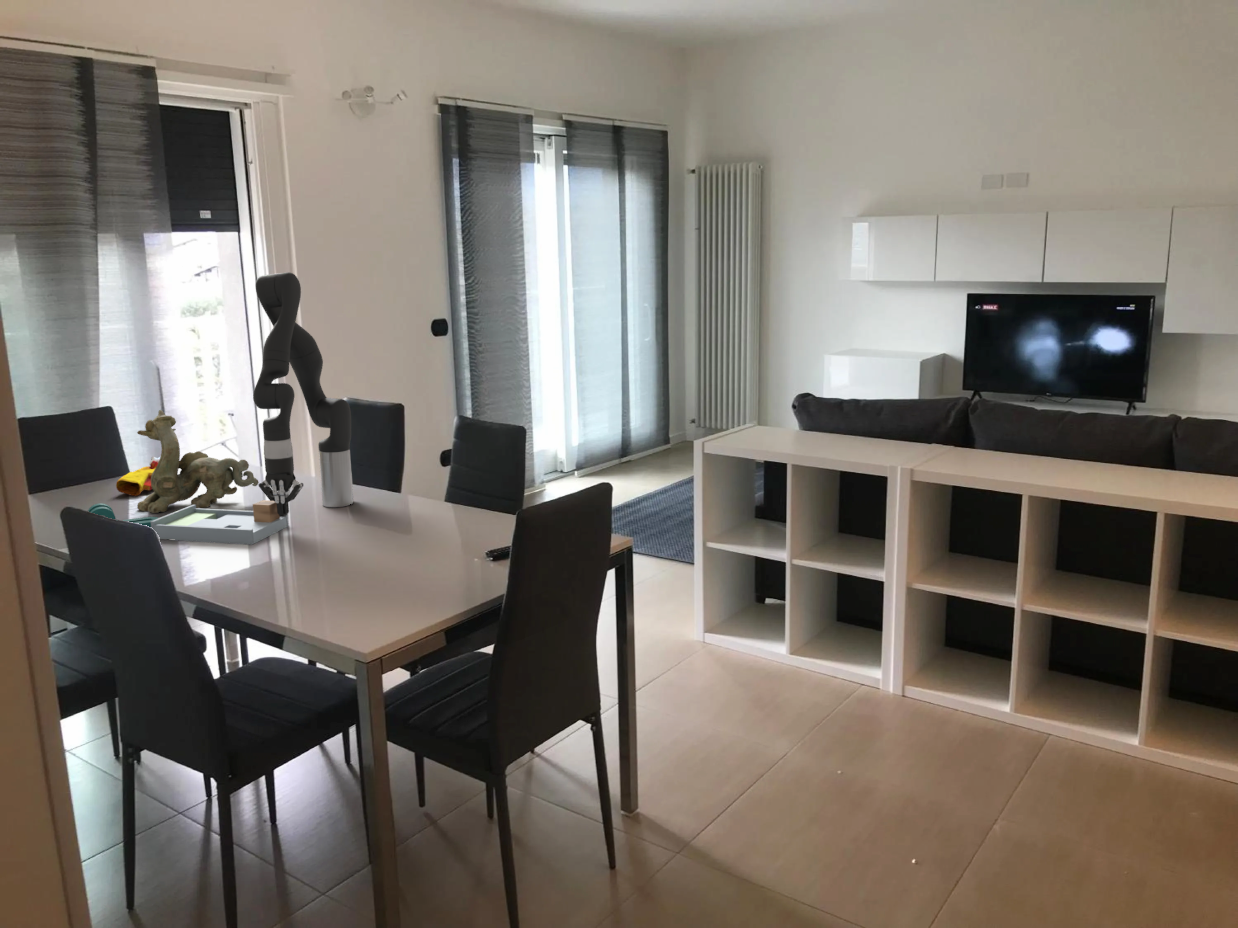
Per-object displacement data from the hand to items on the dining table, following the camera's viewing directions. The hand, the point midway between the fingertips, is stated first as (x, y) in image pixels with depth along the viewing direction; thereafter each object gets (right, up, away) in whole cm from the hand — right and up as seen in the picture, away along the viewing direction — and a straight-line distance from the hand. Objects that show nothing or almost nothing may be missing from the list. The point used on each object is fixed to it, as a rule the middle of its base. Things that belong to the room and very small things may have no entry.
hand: (283, 515), depth 278 cm
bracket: (-46, -5, +3) cm, 47 cm away
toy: (-62, +7, +57) cm, 84 cm away
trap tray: (-17, -5, 0) cm, 17 cm away
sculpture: (-37, +1, +31) cm, 48 cm away
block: (-5, -1, +1) cm, 5 cm away
